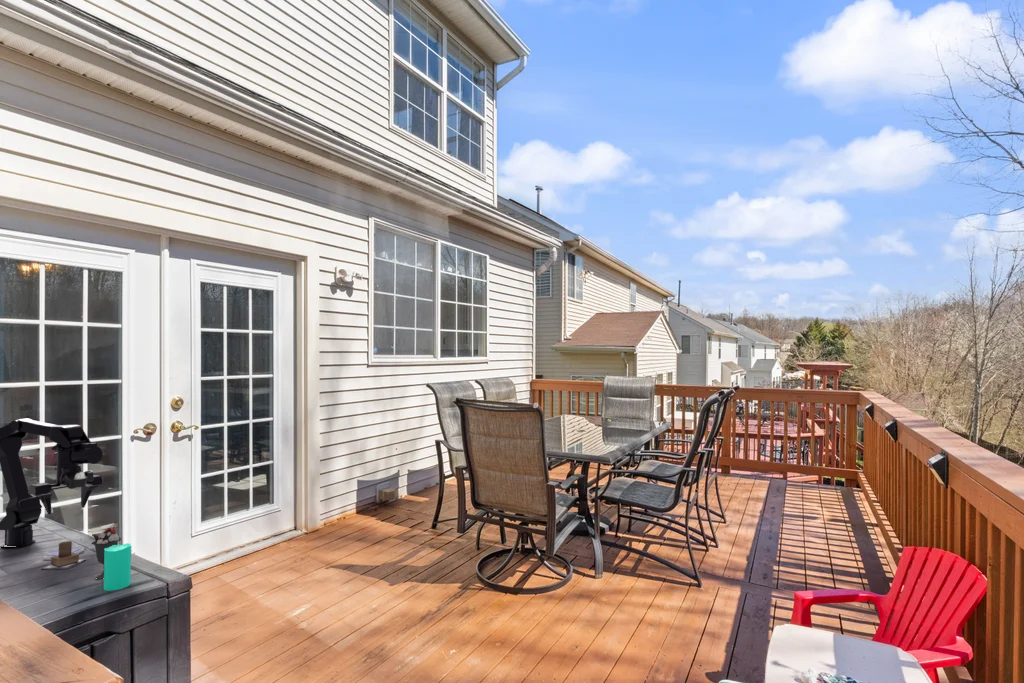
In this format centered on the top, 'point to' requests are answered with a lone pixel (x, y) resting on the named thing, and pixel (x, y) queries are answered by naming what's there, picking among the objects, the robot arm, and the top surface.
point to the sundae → (105, 544)
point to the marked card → (63, 566)
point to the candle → (117, 567)
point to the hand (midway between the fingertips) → (66, 510)
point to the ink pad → (48, 557)
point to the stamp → (65, 555)
